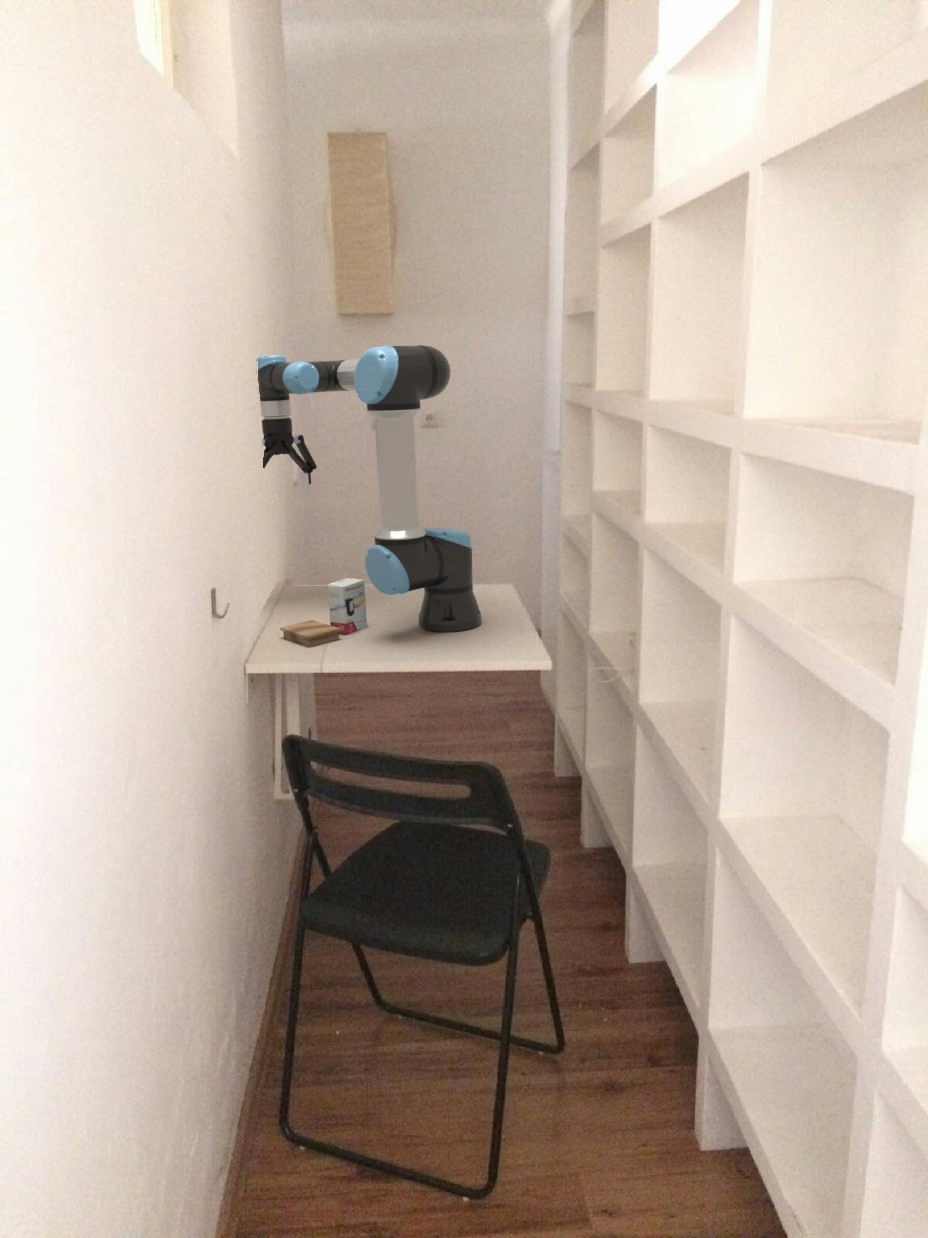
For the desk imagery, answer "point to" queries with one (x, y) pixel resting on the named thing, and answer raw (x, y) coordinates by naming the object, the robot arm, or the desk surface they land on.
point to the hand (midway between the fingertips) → (283, 500)
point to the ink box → (347, 605)
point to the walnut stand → (311, 633)
